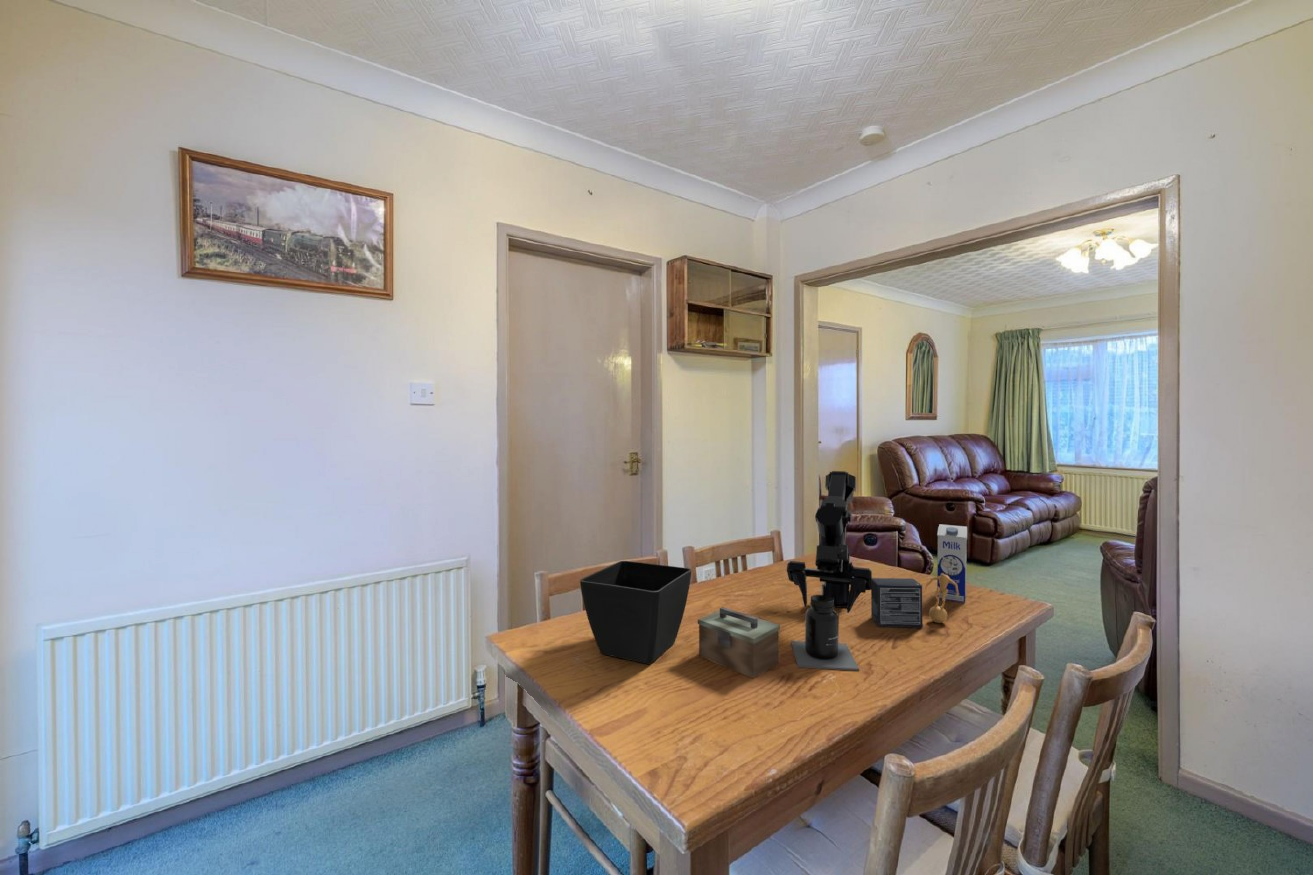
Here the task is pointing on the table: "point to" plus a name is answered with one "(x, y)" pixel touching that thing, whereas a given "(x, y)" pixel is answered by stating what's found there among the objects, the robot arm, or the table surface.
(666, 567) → the flower pot
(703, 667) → the table surface
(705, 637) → the toolbox
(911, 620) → the small box
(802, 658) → the mat
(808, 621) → the supplement bottle
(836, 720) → the table surface
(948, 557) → the milk carton
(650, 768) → the table surface
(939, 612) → the figurine
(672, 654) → the table surface
